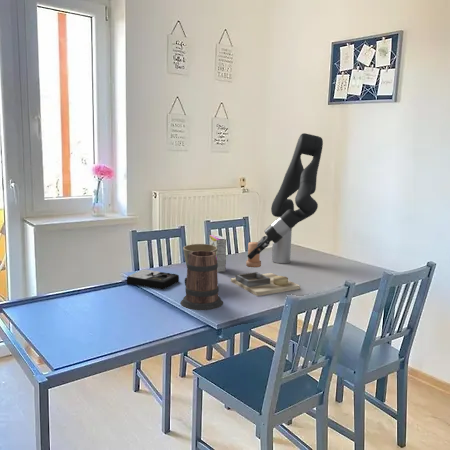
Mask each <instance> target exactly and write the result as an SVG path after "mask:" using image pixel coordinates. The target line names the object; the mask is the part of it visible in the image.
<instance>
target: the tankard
mask: <svg viewBox="0 0 450 450" xmlns="http://www.w3.org/2000/svg"><path fill="white" fill-rule="evenodd" d="M217 268H218V263H217V260H216V253H215V252H213V251H193V252H191V253H189V254H188V262H187V266H186V277H185V278H184V286H185V295H184V297H182V299H181V300H180V306H181V307H183V308H185V309H187V310H191V311H212V310H217V309H219V308H221V307H222V306H223V305H224V301H223V300H222V298H221V297H220V296H219V291H220V290H219V285H218V282H219V281H218V279H219V278H218V272H217Z"/></svg>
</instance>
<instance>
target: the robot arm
mask: <svg viewBox="0 0 450 450" xmlns="http://www.w3.org/2000/svg"><path fill="white" fill-rule="evenodd" d="M323 141H324V140H323V137H321V136H318V135H314V134H310V133H301V134H300V135H299V137H298V140H297V143H296V145H295V148H294V151H293V154H292V157H291V160H290V163H289V165H288V168H287V170H286V173H285V174H284V178H283V181H282V183H281V185H280V188H279V190H278V192H277V193H276V195H275V197H274V198H273V201H272V204H271V210H270V212H271V214H272V216H273V217H276V219H275V220H274V221H273V222H272V223H271V224H270V225H269V226H267V228H265V229H264V233H265V235H264V236H262V237H261V238H260V240H258V244H257V247H256V248H254V250H253V251H252V252H251V253H250V254H248V253H247V259H248V258H249V259H252V258H253V257H254V256H255V255H256V254H259V253H261V252H263V251H265V249H266V248H268V246H270V244H271V242H272V247H271V248H272V252H271V253H272V254H271V260H272V262H274V263H277V264H289V263H291V257H292V256H291V252H292V251H291V250H292V235H293V234H292V230H293V228H294V227H295V226H297V224H298V223H300V222H302V221H304V220H306V219H308V218H309V217H312V216H313V215H314V214H315V213H316V211H318V208H319V205H318V202H317V201H316V199H314V198H313V197H312V195H313V194H314V193H315V192H316V190H317V178H318V177H317V176H318V171H319V166H320V162H321V161H320V160H321V157H322V154H323V153H322V152H323V146H324V145H323V144H324V142H323ZM302 155H306V156H311V157H312V160H311V161H310V162H309V163H308V165H306V167H305V168H304V165H303V161H302V159H301V158H302V157H301V156H302ZM295 193H296V195H295V198H294V201H293V200H292V199H291V198H289V197H291V196H292V195H294V194H295ZM294 202H295V204H294ZM295 206H296V207H297V208H298V209H296V210H295ZM258 248H259V249H260V250H258Z"/></svg>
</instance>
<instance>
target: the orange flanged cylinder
mask: <svg viewBox="0 0 450 450" xmlns="http://www.w3.org/2000/svg"><path fill="white" fill-rule="evenodd" d="M257 244H258V242H257V241H256V242H255V241H250V242H248V245H247V248H248V249H247V255H248V254H250V253H251V252H252V251H253V250H254V248H256V247H257ZM258 250H260V249H259V248H258ZM260 253H261V252H260ZM260 253H259V254H256V255H255V256H254V257H253V258H252V259H249V258H248V257H247V260H246V262H245V263H246V267H248V268H261V267H262V260H260V259H261V258H260V256H261V255H260Z"/></svg>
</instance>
